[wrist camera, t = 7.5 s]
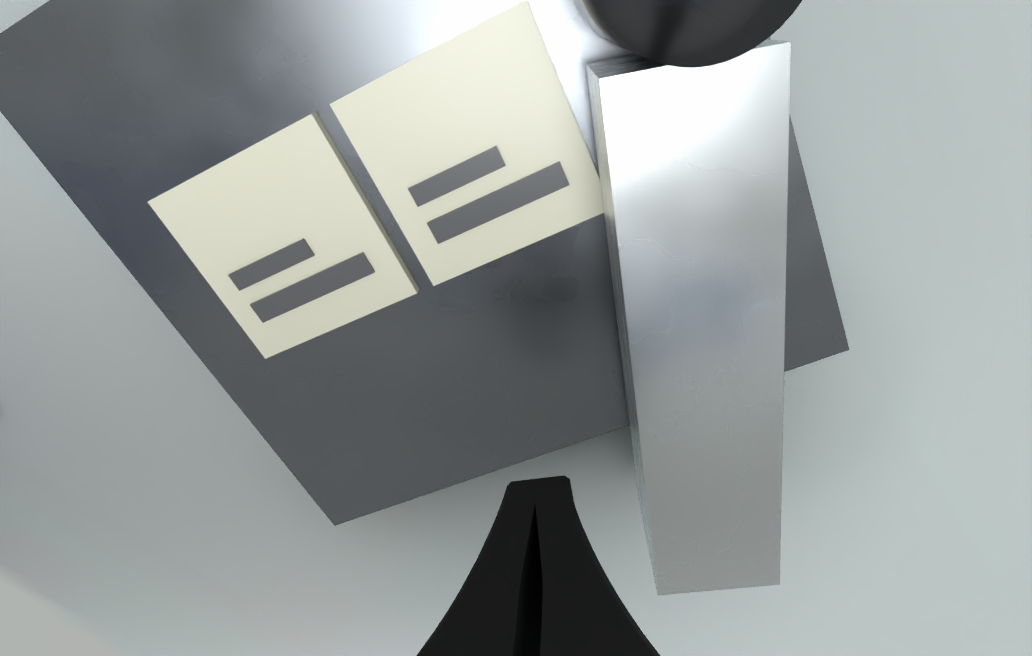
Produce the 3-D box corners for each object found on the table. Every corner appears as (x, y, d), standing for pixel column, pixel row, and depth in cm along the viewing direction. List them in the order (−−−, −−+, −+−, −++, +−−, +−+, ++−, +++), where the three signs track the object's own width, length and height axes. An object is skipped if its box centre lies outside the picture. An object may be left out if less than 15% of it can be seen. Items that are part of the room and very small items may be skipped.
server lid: (341, 508, 21) (334, 525, 20) (-13, 58, 15) (-41, 61, 14) (836, 335, 17) (849, 349, 17) (650, -379, 11) (657, -407, 10)
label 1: (269, 353, 17) (263, 360, 17) (154, 198, 15) (144, 202, 15) (419, 288, 16) (416, 294, 16) (315, 112, 14) (309, 114, 14)
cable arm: (558, -110, 12) (567, -189, 7) (722, -148, 12) (840, -257, 7) (632, 484, 19) (661, 635, 14) (736, 472, 19) (800, 623, 14)
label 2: (435, 281, 16) (432, 287, 16) (333, 102, 14) (327, 104, 14) (610, 205, 15) (612, 210, 15) (526, -1, 13) (525, -2, 13)
